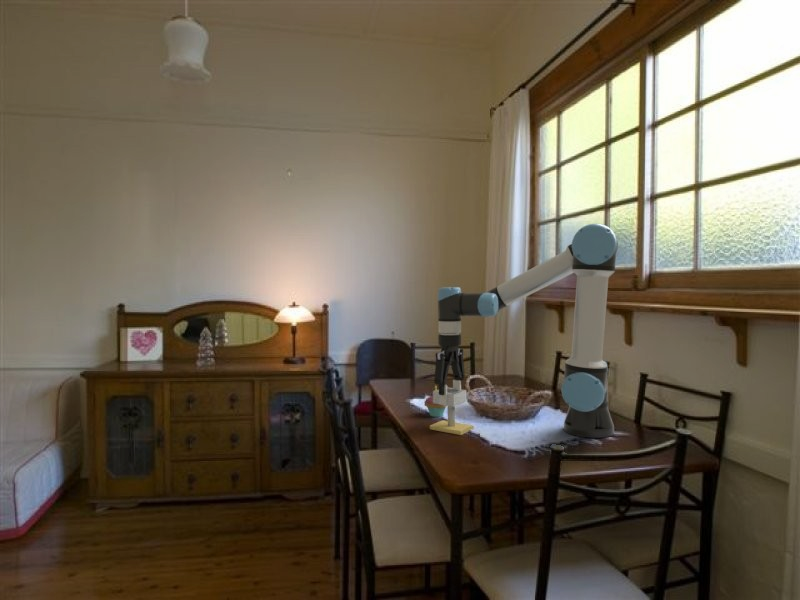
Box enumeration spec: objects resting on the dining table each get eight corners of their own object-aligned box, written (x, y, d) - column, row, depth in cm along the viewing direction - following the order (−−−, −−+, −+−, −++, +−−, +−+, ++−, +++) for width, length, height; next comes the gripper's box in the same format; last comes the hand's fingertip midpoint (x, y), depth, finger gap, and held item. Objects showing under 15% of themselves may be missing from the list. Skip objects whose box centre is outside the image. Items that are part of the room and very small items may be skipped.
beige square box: (466, 401, 168) (466, 390, 168) (453, 406, 162) (453, 394, 162) (445, 398, 173) (446, 386, 173) (433, 403, 167) (433, 391, 167)
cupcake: (448, 418, 181) (448, 385, 181) (425, 418, 181) (424, 385, 181) (446, 412, 190) (446, 380, 189) (424, 412, 190) (423, 380, 190)
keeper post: (473, 429, 167) (472, 403, 167) (461, 435, 161) (460, 408, 160) (442, 423, 174) (442, 399, 174) (429, 429, 168) (429, 404, 168)
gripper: (456, 330, 177) (456, 394, 178) (422, 336, 161) (423, 406, 161) (475, 331, 173) (475, 397, 173) (442, 337, 156) (442, 410, 157)
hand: (450, 401), depth 167 cm, fingers closed on beige square box, 8 cm apart
